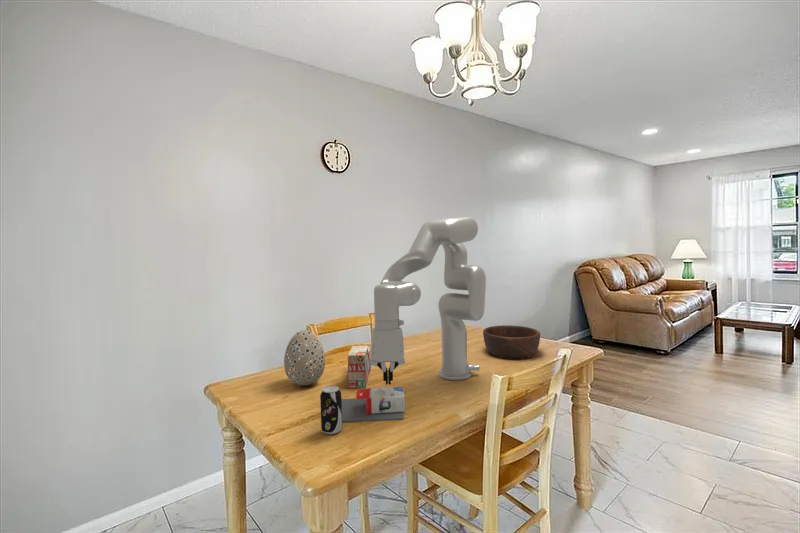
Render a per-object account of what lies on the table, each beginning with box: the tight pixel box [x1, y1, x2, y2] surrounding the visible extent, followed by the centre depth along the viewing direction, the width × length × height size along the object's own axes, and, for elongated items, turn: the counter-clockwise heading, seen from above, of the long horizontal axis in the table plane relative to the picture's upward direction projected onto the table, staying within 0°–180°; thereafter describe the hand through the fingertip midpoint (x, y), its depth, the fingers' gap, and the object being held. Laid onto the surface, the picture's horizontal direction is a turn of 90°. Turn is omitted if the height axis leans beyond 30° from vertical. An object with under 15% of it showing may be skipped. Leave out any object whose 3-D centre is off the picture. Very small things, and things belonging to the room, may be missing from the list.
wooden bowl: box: [482, 324, 541, 360], centre depth 179 cm, size 25×25×10 cm
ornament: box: [283, 329, 326, 386], centre depth 145 cm, size 15×15×20 cm
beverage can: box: [319, 385, 343, 435], centre depth 109 cm, size 6×6×12 cm
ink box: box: [355, 386, 406, 414], centre depth 122 cm, size 8×5×15 cm
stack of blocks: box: [347, 345, 372, 389], centre depth 151 cm, size 21×6×12 cm, turn 179°
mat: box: [342, 397, 404, 423], centre depth 123 cm, size 20×16×1 cm
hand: (388, 383), depth 122 cm, fingers closed
